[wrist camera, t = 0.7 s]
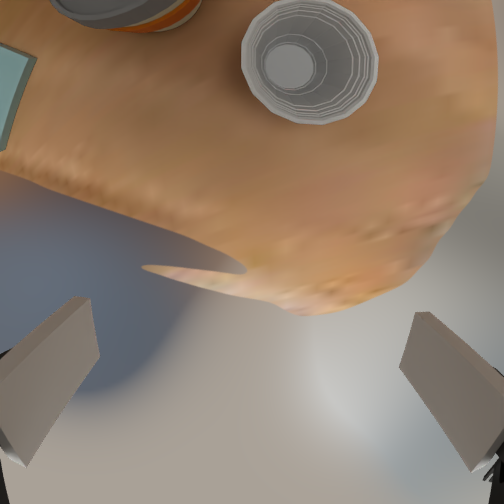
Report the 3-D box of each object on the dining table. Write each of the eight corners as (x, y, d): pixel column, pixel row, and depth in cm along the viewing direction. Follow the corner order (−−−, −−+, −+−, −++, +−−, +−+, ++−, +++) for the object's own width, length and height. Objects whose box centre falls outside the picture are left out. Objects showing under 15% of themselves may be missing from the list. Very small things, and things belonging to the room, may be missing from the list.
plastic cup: (250, 120, 32) (255, 137, 21) (231, 32, 26) (226, 4, 16) (343, 108, 31) (388, 120, 21) (327, 21, 26) (368, -4, 15)
